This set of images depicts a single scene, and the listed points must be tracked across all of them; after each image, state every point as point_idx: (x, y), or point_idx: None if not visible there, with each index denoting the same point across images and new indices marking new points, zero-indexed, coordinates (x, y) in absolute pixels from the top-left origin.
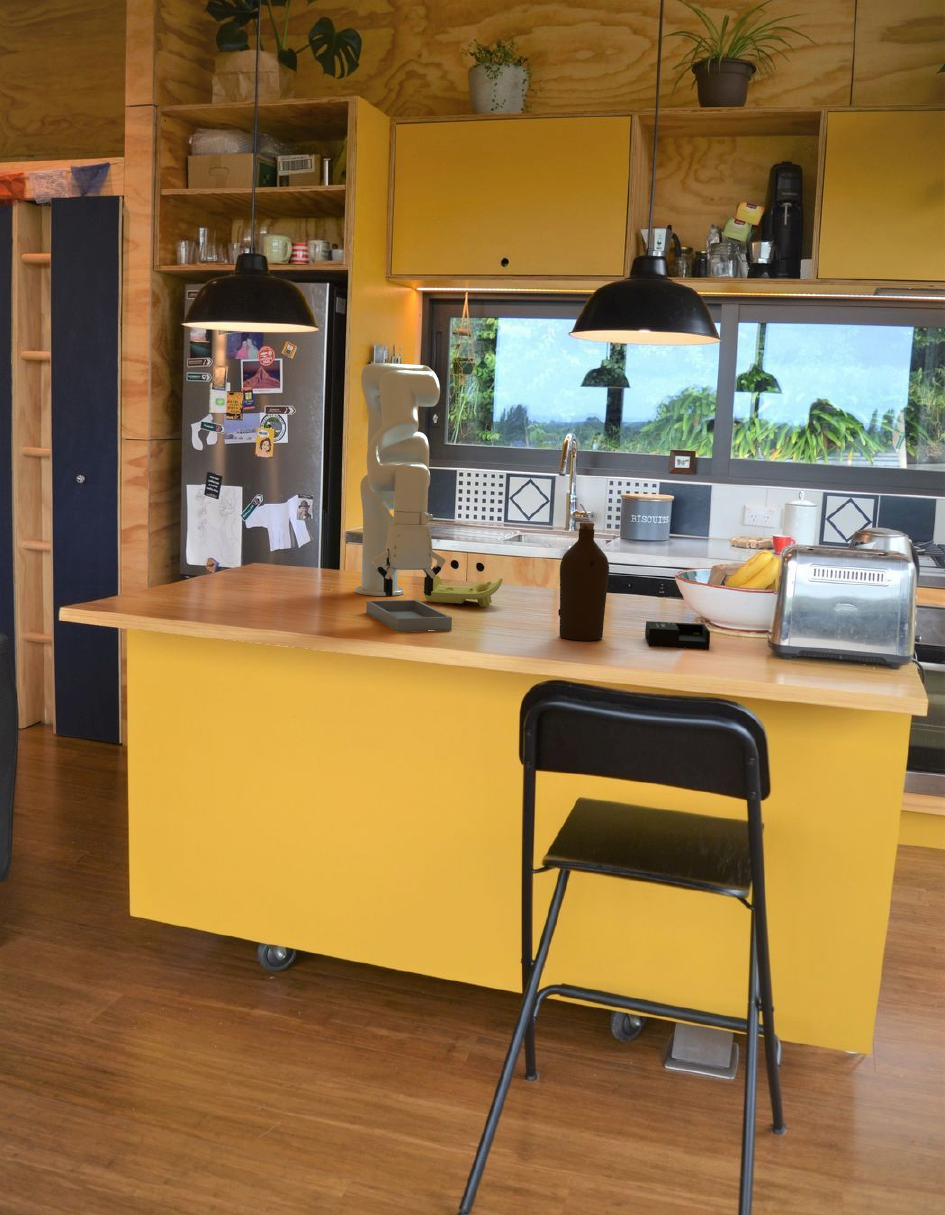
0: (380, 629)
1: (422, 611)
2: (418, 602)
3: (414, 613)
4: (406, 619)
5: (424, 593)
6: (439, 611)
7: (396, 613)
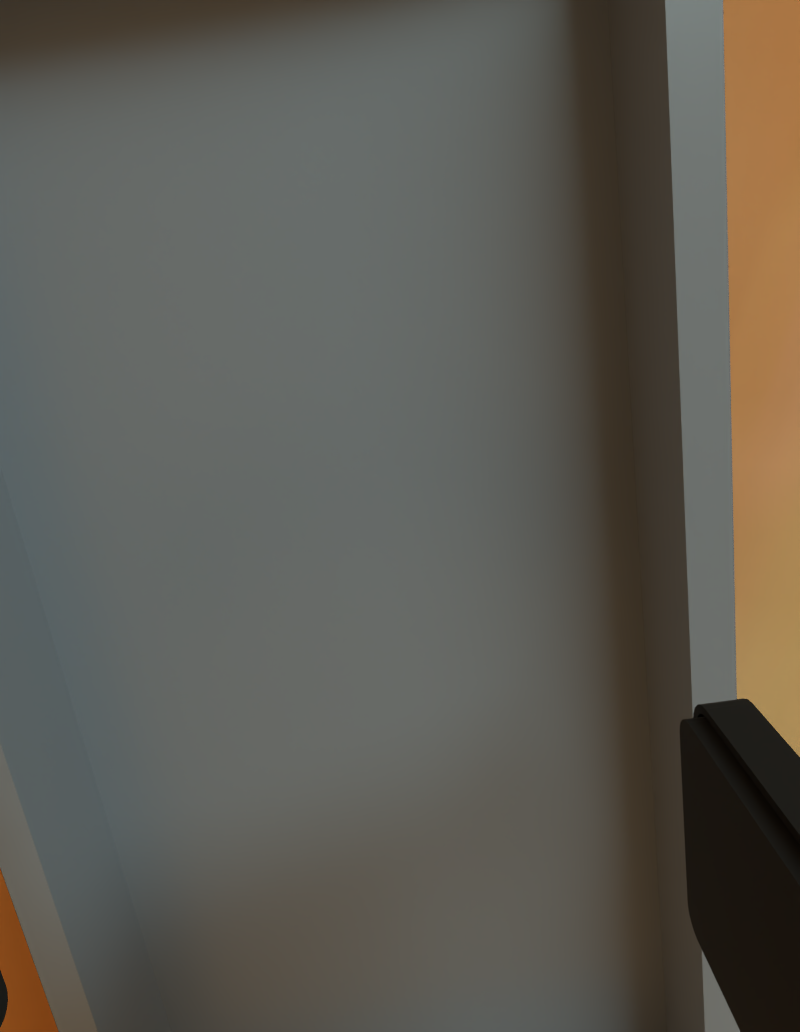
0: (31, 990)
1: (638, 291)
2: (665, 33)
3: (529, 205)
4: None
5: (683, 747)
6: None
7: (262, 200)
